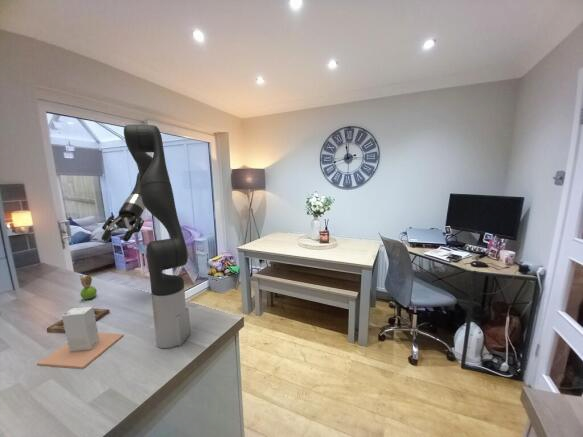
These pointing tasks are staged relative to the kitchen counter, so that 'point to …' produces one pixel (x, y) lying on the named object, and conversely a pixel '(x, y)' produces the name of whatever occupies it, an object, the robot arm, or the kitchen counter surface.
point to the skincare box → (80, 329)
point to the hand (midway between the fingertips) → (114, 240)
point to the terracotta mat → (80, 353)
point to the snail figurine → (87, 288)
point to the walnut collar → (59, 326)
